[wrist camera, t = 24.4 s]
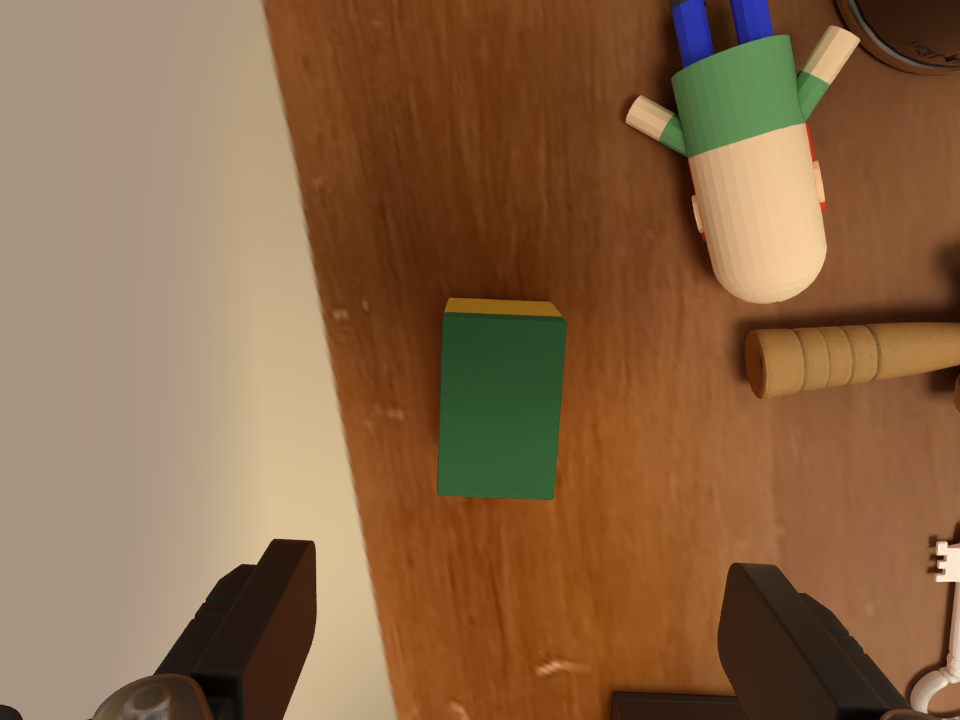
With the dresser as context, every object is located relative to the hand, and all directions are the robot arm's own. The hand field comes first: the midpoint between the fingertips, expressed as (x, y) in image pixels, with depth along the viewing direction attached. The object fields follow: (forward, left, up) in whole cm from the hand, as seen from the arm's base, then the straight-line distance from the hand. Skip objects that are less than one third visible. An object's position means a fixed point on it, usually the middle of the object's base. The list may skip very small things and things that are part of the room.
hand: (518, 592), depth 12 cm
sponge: (0, 0, -17) cm, 17 cm away
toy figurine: (-10, +9, -17) cm, 21 cm away
